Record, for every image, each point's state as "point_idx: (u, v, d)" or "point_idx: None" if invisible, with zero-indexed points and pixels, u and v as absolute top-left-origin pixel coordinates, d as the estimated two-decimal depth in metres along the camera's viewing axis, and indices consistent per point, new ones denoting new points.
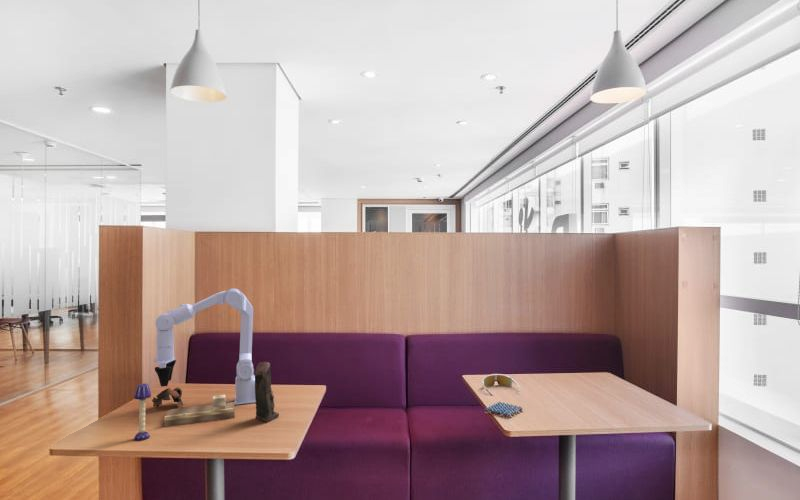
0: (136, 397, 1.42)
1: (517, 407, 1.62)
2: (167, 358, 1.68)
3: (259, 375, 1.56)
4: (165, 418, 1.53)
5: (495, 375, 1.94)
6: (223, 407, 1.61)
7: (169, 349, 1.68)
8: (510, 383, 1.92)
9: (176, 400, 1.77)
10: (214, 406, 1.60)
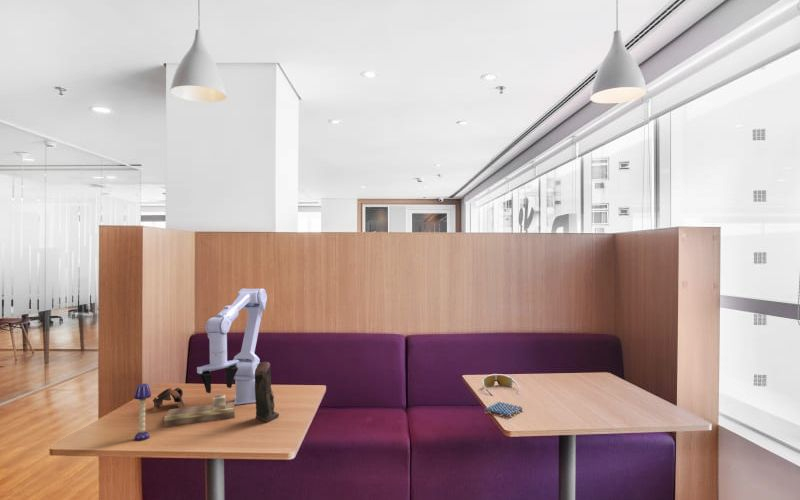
0: (136, 397, 1.42)
1: (517, 407, 1.62)
2: (212, 364, 1.60)
3: (259, 375, 1.56)
4: (165, 418, 1.53)
5: (495, 375, 1.94)
6: (223, 407, 1.61)
7: (214, 355, 1.60)
8: (510, 383, 1.92)
9: (177, 400, 1.76)
10: (214, 406, 1.60)
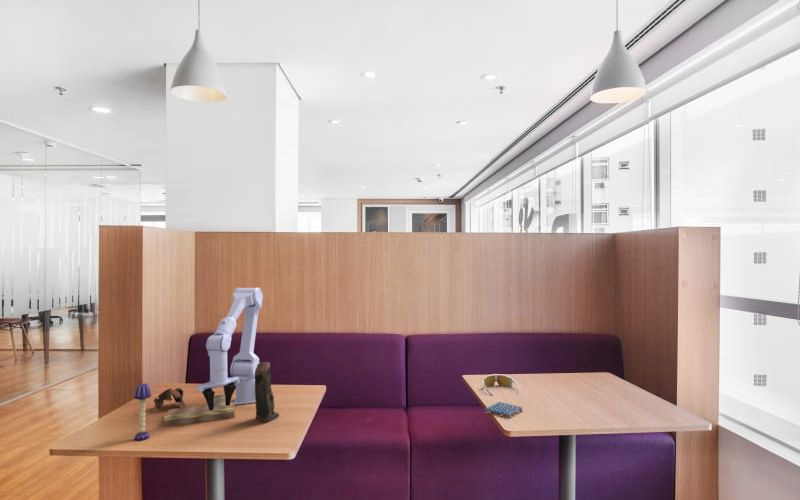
0: (136, 397, 1.42)
1: (517, 407, 1.62)
2: (213, 382, 1.60)
3: (259, 375, 1.56)
4: (165, 418, 1.53)
5: (495, 375, 1.94)
6: (223, 407, 1.61)
7: (214, 373, 1.60)
8: (510, 383, 1.92)
9: (177, 400, 1.76)
10: (214, 406, 1.60)
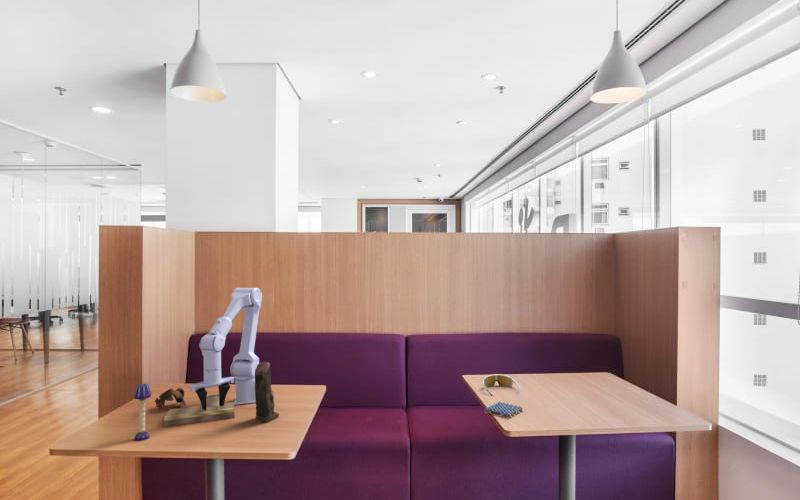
0: (136, 397, 1.42)
1: (517, 407, 1.62)
2: (206, 382, 1.59)
3: (259, 375, 1.56)
4: (165, 418, 1.53)
5: (495, 375, 1.94)
6: (216, 407, 1.60)
7: (207, 373, 1.59)
8: (510, 383, 1.92)
9: (179, 400, 1.76)
10: (207, 406, 1.59)
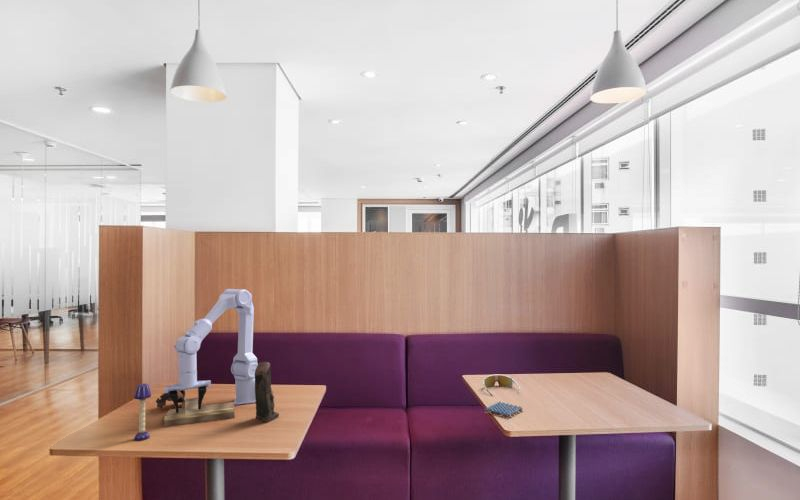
0: (136, 397, 1.42)
1: (517, 407, 1.62)
2: (179, 384, 1.57)
3: (259, 375, 1.56)
4: (165, 418, 1.53)
5: (496, 375, 1.93)
6: (196, 410, 1.58)
7: (180, 375, 1.56)
8: (511, 383, 1.92)
9: (180, 401, 1.76)
10: (186, 410, 1.57)
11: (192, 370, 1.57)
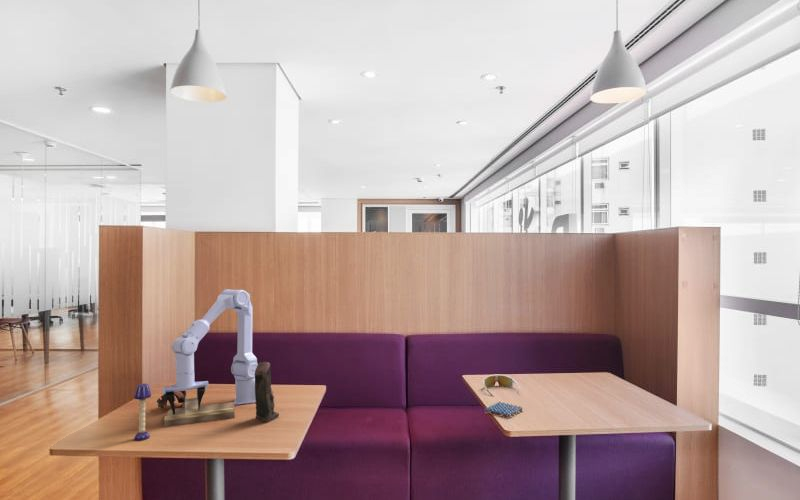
0: (136, 397, 1.42)
1: (517, 407, 1.62)
2: (176, 385, 1.57)
3: (259, 375, 1.56)
4: (165, 418, 1.53)
5: (496, 375, 1.93)
6: (196, 410, 1.58)
7: (178, 376, 1.56)
8: (511, 384, 1.92)
9: (180, 401, 1.76)
10: (186, 410, 1.57)
11: (189, 371, 1.57)
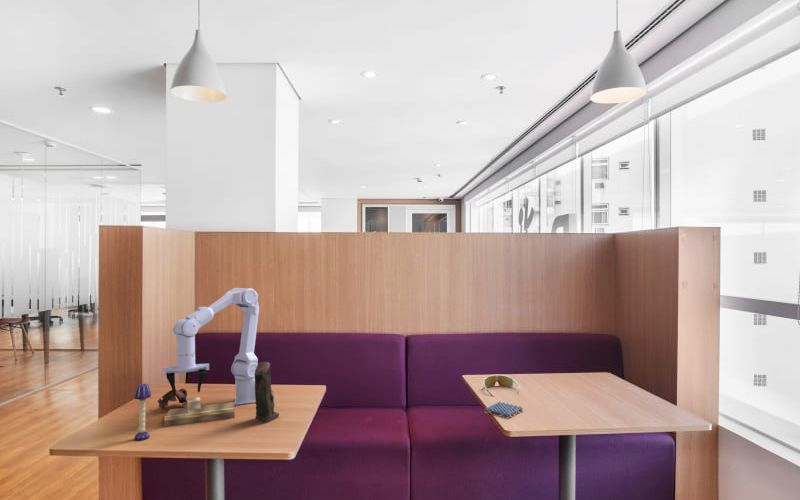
0: (136, 397, 1.42)
1: (517, 407, 1.62)
2: (177, 366, 1.58)
3: (259, 375, 1.56)
4: (165, 418, 1.53)
5: (496, 376, 1.93)
6: (198, 410, 1.58)
7: (178, 357, 1.57)
8: (511, 384, 1.91)
9: (181, 401, 1.75)
10: (189, 409, 1.57)
11: (190, 353, 1.58)
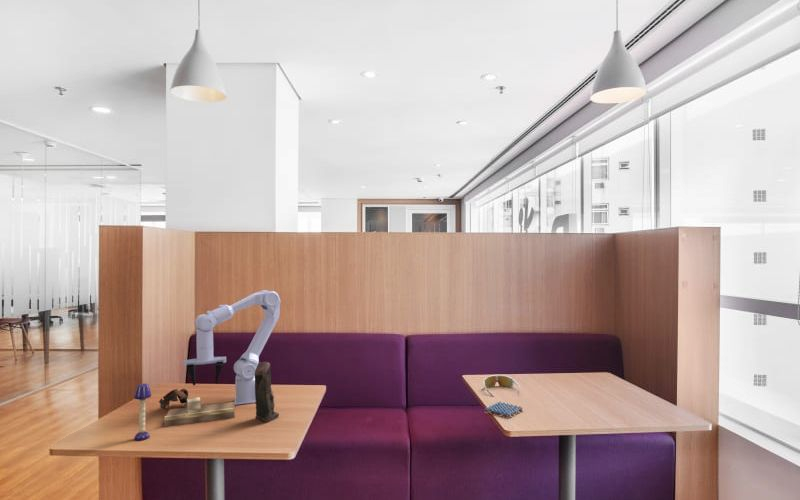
0: (136, 397, 1.42)
1: (517, 407, 1.62)
2: (197, 358, 1.69)
3: (259, 375, 1.56)
4: (165, 418, 1.53)
5: (496, 376, 1.93)
6: (198, 410, 1.58)
7: (198, 350, 1.69)
8: (511, 384, 1.91)
9: (183, 401, 1.75)
10: (189, 409, 1.57)
11: (206, 346, 1.69)
